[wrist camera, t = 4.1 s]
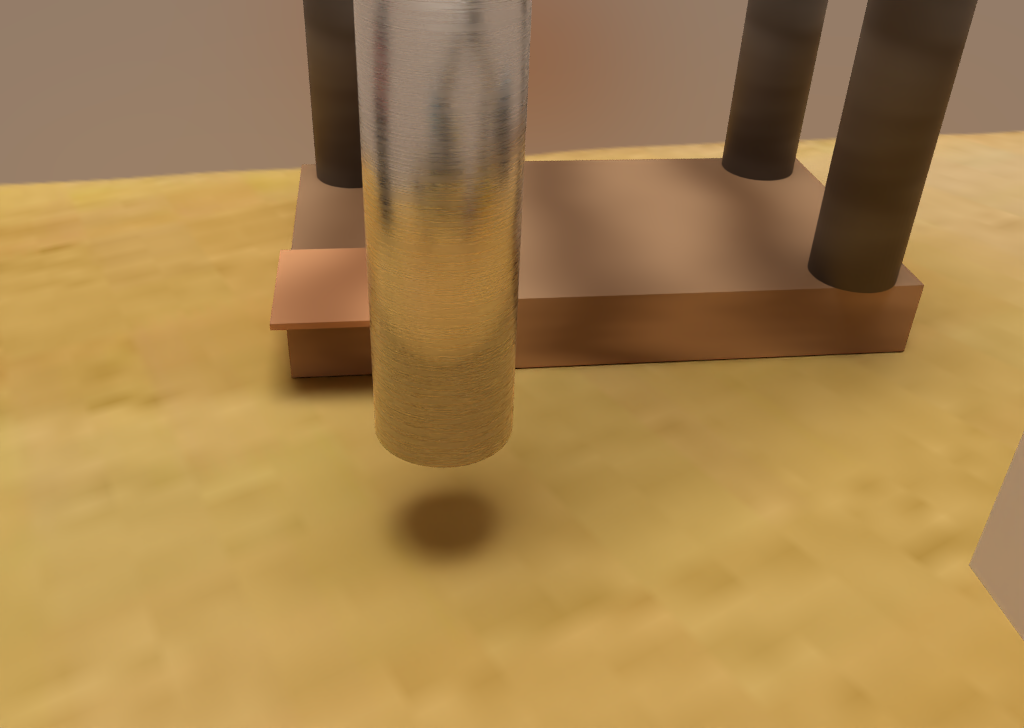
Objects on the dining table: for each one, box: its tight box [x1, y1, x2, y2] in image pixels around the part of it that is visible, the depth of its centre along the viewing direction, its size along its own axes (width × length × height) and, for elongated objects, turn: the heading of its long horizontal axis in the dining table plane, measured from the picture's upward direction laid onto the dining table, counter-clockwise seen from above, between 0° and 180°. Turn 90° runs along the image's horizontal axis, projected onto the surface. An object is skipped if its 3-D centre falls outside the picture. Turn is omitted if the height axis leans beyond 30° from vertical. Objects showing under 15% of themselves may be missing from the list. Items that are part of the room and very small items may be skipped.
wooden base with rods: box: [270, 0, 978, 378], centre depth 30 cm, size 20×13×19 cm, turn 98°
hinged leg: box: [353, 0, 532, 467], centre depth 22 cm, size 16×3×13 cm, turn 127°
